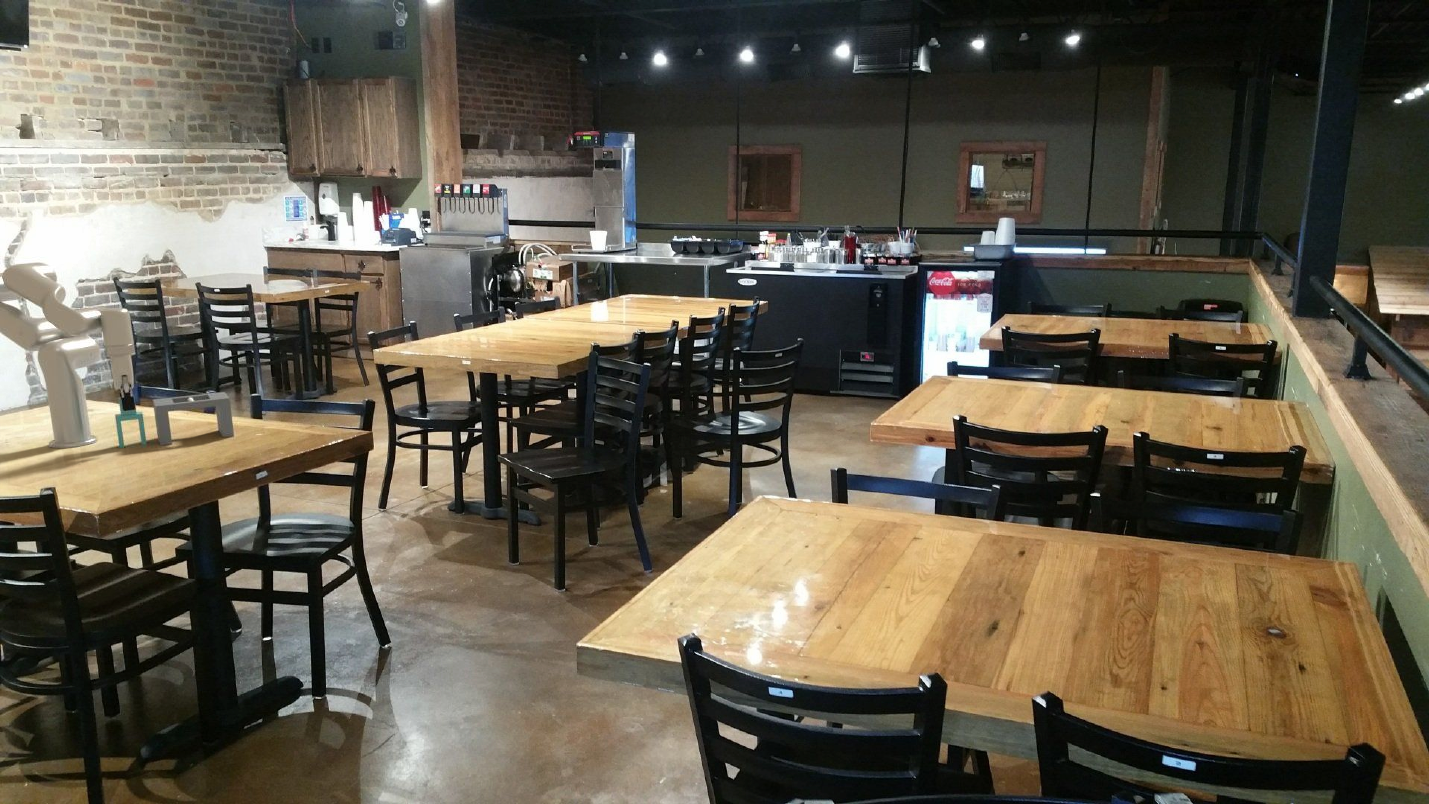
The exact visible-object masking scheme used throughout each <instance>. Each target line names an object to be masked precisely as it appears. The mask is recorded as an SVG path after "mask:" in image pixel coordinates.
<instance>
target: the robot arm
mask: <svg viewBox="0 0 1429 804" xmlns="http://www.w3.org/2000/svg"><path fill="white" fill-rule="evenodd" d="M57 281H58V277H57V274H56V271H55V270H54V269H53V268H52V267H51V266H50V265H48V264H46V263H44V262H27V263H16V264H12V265H11V266H8V267H6V269H5V270H4V271H3V272H0V334H2V335H3V336H5V337H6V338H7V339H9V340H10V341H11V342H13V343H14V344H16V345H17V346H19V347H20V348H22V349H23V350H26V351H28V352H37V362H38V364H39V365H38V366H39V367H40V370H41V372H42V375H43V380H44V384H45V389H46V395H47V400H48V408H49V413H50V420H51V421H50V422H51V425H52V426H51V427H52V432H53V433H52V434H53V439H52V440H50V441H49V442H48V446H49V447H50V448H53V449H67V448H70V449H71V448H78V447H83V446H88V445H91V444H94V443H97V442H98V441H99V439H98V436H97V435H93V434H92V431H91V426H90V420H89V418H90V417H89V413H88V412H89V411H88V406H87V405H88V404H87V397H86V392H85V385H84V382H83V380H82V378H81V377H80V375H79V374H78V372H77V371H76V370H78V369H82V368H86V367H90V366H93V365H94V364H96V363H97V362H99V361H100V357H101V348H100V345H99V344H98V343H97V341H96V340H95V339H94V338H92V337H91V336H90V335H93V334H102V338H103V339H102V340H103V344H104V345H103V346H104V353H105V357H106V358H110V366H111V375H112V381H113V387H114V390H115V391H117V392H118V391H119V397H121V400H122V407H123V411H129V410H135V405H136V401H135V402H134V398H135V396H134V395H133V390H132V389H134V387H135V386H134V385H135V384H134V381H135V379H134V369H133V368H134V367H133V361H132V360H133V359H132V356H134V355H136V350H135V341H134V335H133V329H132V327H133V326H132V322H131V315H130V310H128V309H127V308H125V307H112V308H110V307H104V306H94V307H87V308H81V309H76V310H75V309H73V308H71V307H69V306H67V305H65V304H64V301H65V298H66V295H67V294H66V293H67V291H66V289H65V288H64V286H63V285H62V284H60V283H58V282H57ZM21 299H25V300H27V301H29V302H30V303H33V304H34V305H36V306H37V307H39V308H40V309H41V310H42V313H43V316H44V317H32V316H30V315H28V314H27V313H25V312H24V311H22V310H21V309H20V308H18V307H16V306H14V305H12V304H9V303H5V302H9V301H10V302H11V301H17V300H21Z"/></svg>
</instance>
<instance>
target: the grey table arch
mask: <svg viewBox="0 0 1429 804" xmlns="http://www.w3.org/2000/svg"><path fill="white" fill-rule="evenodd" d="M152 404H153V412H154V413H153V414H154V420H155V421H154V422H155V427H156V435H157V439H158V442H159V444H160V446H169V445H173V440H172V439H173V438H172V433H171V432H172V431H171V425H170V416H169V412H175V411H176V412H177V411H184V410H185V411H186V410H193V409H202V408H212V407H215V413H216V421H217V422H216V423H217V429H218V432H219V433H220V435H221V436H222V437H223V438H224V439H225V438H231V437H232V438H233V437H235V432H234V425H233V424H234V423H233V416H232V415H233V414H232V406H231V398H230V397H229V395H228V394H227V393H226V392H225V391H221V392H212V393H203V394H194V395H193V394H192V395H185V396H182V395H181V396H174V397H166V398H165V397H164V398H155V399H152Z"/></svg>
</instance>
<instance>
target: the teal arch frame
mask: <svg viewBox="0 0 1429 804" xmlns="http://www.w3.org/2000/svg"><path fill="white" fill-rule="evenodd" d="M135 399H136V398H135V397H134V402H135V403H136V400H135ZM118 403H119V404H118V405H119V411H120V413H117V414H114V418H115V424H116V425H115V426H116V431H117V439H118V447H119V448H120V449H123V448H125V442H124V435H123V434H124V433H123V428H122V422H125V421H126V422H127V421H133V420H134V421H136V420H138V421H137V422H138V427H139V428H138V429H139V436H140V442H141V446H147V437H146V430H145V423H144V422H145V421H144V415H143V414H144V413H143V411H137V407H136V406H137V405H136V404H135V410H129V411H123V407H122V400H121V397H120V396H119V397H118Z"/></svg>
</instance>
